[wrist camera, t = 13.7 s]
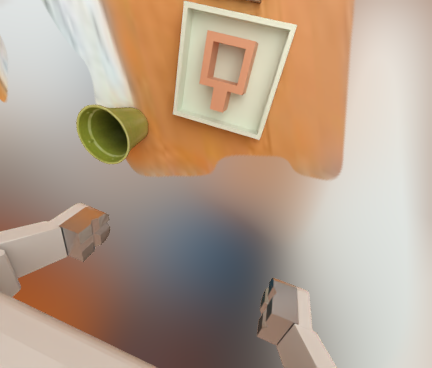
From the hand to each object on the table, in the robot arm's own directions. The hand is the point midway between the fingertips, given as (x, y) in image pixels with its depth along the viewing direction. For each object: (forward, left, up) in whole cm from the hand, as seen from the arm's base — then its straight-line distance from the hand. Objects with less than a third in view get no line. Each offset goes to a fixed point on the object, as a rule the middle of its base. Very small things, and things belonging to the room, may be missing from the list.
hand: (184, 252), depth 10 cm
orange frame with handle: (-6, +5, -28) cm, 30 cm away
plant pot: (-22, -7, -29) cm, 37 cm away
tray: (-6, +5, -29) cm, 30 cm away
